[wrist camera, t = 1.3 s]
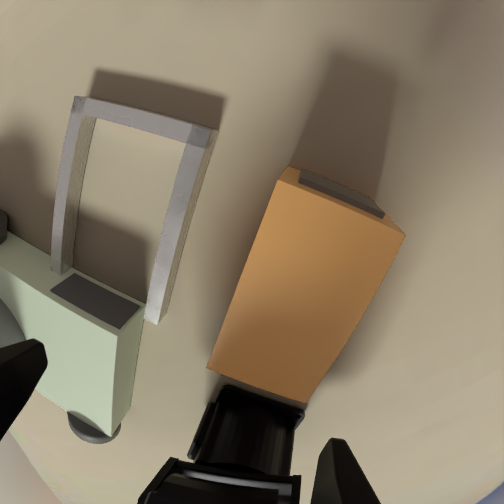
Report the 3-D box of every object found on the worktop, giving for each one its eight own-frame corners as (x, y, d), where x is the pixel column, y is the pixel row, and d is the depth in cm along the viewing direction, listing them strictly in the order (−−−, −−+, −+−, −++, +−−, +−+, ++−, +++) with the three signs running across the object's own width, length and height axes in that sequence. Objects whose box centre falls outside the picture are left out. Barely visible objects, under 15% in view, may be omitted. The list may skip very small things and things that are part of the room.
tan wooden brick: (376, 198, 16) (408, 229, 11) (308, 334, 20) (305, 403, 14) (289, 161, 16) (280, 172, 11) (233, 306, 20) (206, 367, 14)
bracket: (218, 130, 16) (210, 130, 15) (166, 313, 21) (157, 325, 19) (89, 97, 17) (75, 95, 15) (62, 262, 21) (50, 270, 20)
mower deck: (150, 284, 20) (56, 382, 11) (129, 415, 26) (81, 494, 16) (-13, 201, 21) (-100, 236, 11) (-3, 331, 26) (-60, 378, 17)
